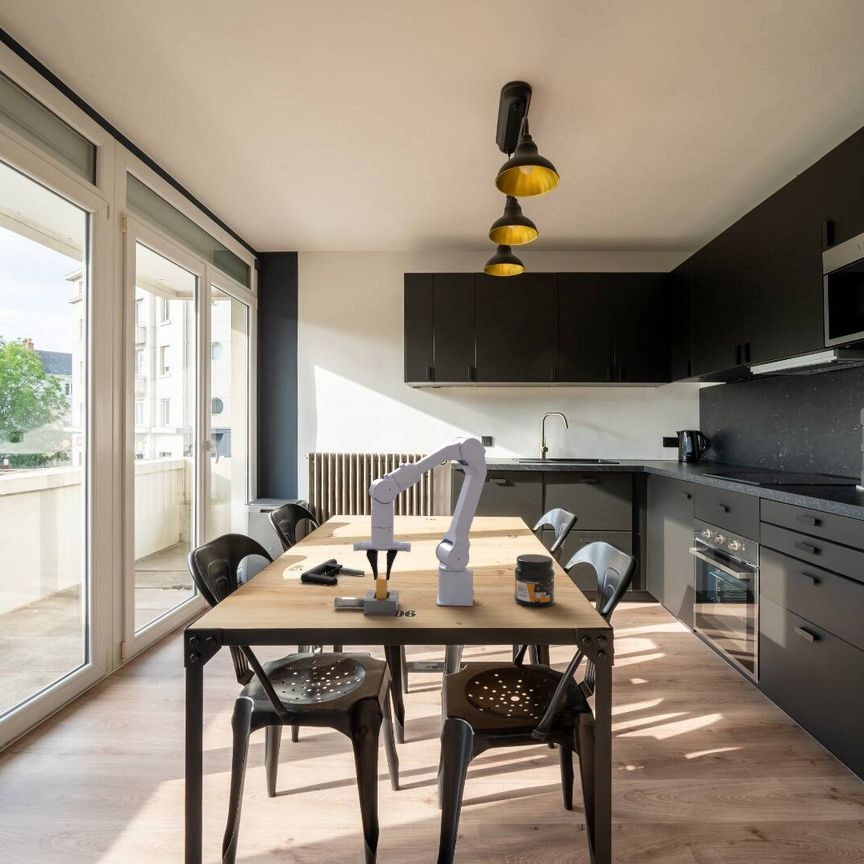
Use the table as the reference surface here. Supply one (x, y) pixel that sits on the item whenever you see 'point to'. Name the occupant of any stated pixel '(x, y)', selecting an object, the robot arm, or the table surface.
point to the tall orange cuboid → (381, 587)
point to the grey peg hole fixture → (372, 603)
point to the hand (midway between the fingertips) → (381, 579)
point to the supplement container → (534, 581)
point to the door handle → (330, 569)
